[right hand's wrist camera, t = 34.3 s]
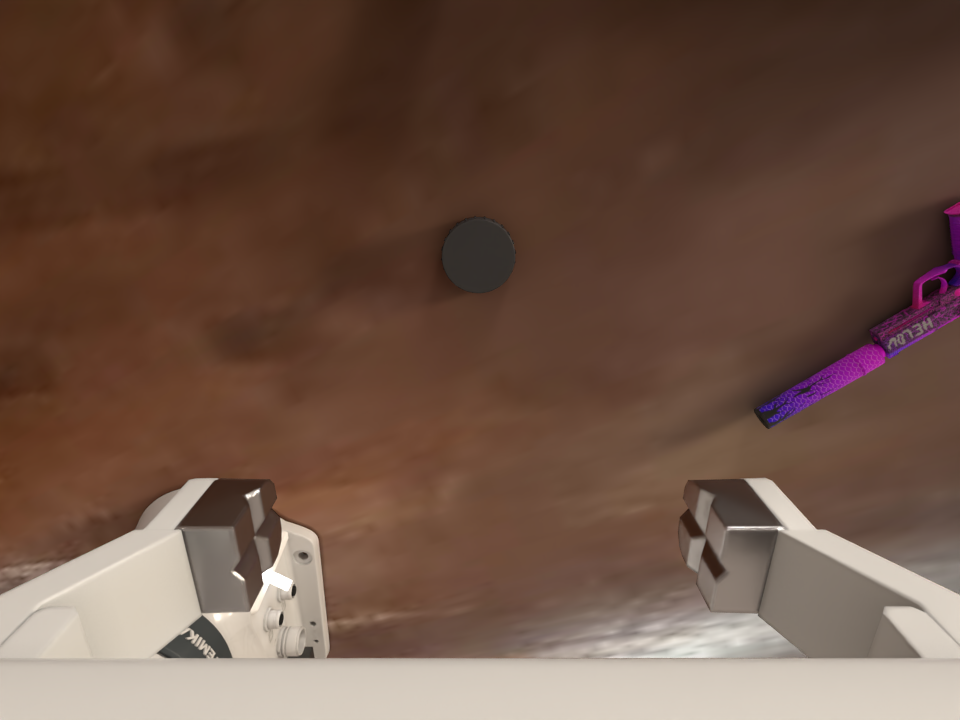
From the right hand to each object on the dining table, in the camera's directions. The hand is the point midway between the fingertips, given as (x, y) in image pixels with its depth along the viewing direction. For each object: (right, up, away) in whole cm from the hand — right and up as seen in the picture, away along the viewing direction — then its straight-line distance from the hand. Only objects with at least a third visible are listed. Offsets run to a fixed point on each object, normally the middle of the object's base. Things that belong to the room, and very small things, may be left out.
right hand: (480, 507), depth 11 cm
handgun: (+30, +7, +30) cm, 43 cm away
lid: (0, +10, +27) cm, 29 cm away
